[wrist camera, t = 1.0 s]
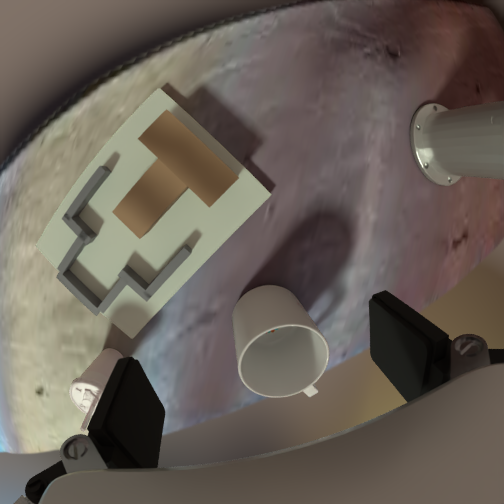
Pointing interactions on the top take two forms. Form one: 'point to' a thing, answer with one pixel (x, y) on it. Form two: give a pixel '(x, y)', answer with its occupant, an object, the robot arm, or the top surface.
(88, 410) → the smoothie
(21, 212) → the top surface
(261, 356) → the mug
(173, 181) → the t block
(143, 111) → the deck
